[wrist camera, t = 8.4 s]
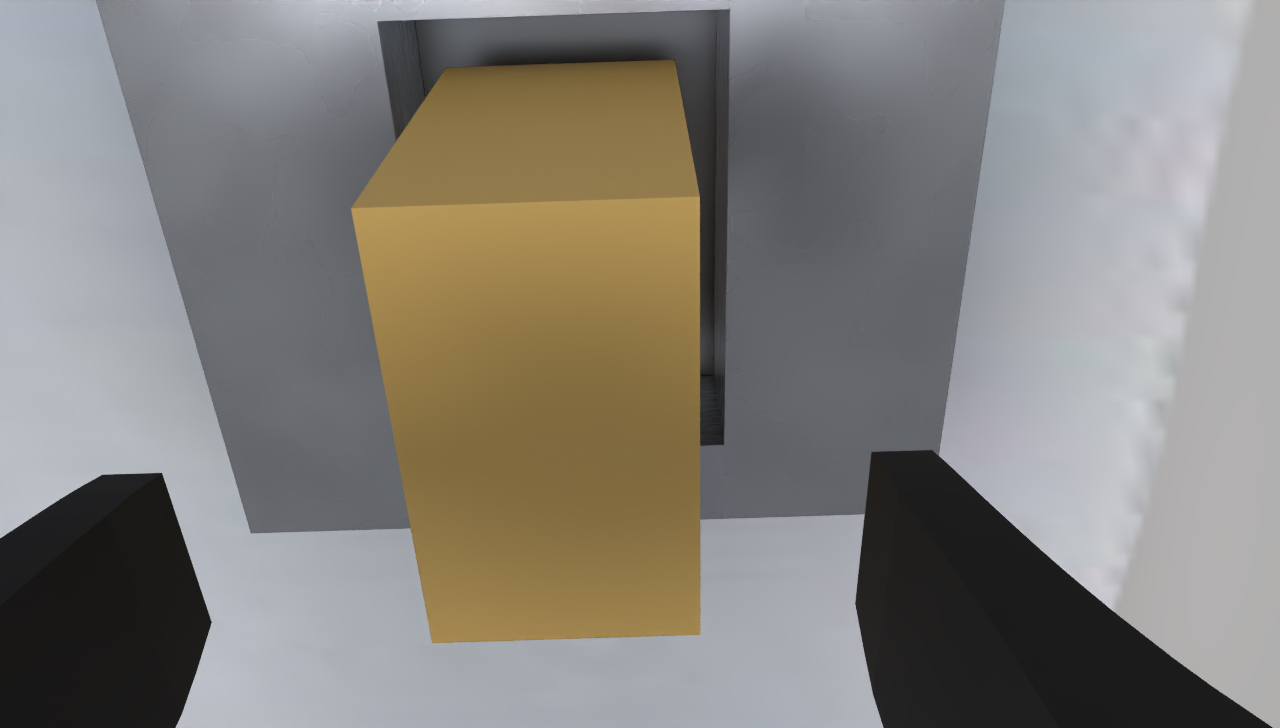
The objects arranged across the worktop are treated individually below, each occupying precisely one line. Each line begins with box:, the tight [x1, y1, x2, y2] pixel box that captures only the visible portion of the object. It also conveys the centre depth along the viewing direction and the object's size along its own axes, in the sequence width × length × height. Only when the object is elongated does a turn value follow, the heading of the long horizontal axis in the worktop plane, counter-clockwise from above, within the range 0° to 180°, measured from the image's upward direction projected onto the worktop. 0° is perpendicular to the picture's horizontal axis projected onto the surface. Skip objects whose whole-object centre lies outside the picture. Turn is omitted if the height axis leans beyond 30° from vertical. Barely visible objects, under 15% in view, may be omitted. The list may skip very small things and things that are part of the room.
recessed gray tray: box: [96, 0, 1005, 533], centre depth 17 cm, size 13×13×2 cm
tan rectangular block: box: [351, 60, 700, 643], centre depth 15 cm, size 6×4×8 cm, turn 2°
